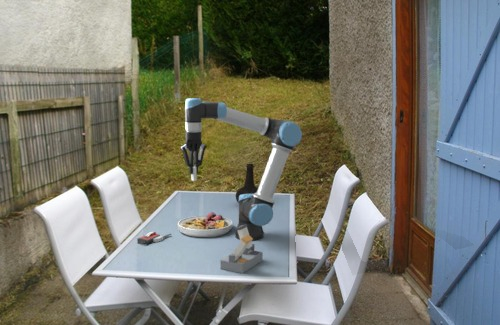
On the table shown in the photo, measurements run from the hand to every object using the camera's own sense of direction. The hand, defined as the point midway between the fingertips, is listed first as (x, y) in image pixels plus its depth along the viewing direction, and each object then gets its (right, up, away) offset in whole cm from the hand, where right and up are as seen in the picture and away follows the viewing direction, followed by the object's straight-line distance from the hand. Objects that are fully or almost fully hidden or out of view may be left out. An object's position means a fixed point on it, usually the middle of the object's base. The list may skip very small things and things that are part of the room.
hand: (193, 180), depth 254 cm
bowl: (+2, -29, +38) cm, 49 cm away
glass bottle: (+26, -20, +99) cm, 104 cm away
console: (+23, -37, -15) cm, 47 cm away
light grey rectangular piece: (+26, -31, -11) cm, 42 cm away
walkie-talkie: (-23, -32, +21) cm, 44 cm away
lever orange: (+21, -33, -21) cm, 44 cm away
